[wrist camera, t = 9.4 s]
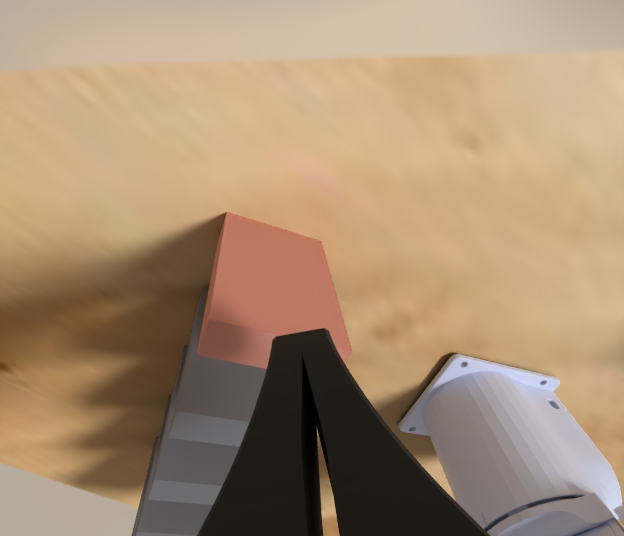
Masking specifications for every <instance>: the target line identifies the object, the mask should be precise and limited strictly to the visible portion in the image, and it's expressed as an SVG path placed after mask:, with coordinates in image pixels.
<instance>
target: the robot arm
mask: <svg viewBox="0 0 624 536" xmlns="http://www.w3.org/2000/svg"><path fill="white" fill-rule="evenodd" d="M559 385H560V381H559V380H558V379H557V378H556V377H553V376H549V375H545V374H541V373H537V372H532V371H528V370H524V369H520V368H516V367H511V366H507V365H503V364H499V363H495V362H490V361H486V360H482V359H478V358H473V357H469V356H465V355H461V354H455V355H453V356H451V357H450V358H449V360H448V361H447V362H446V363H445V365H444V366H443V367H442V369H441V370H440V371H439V373H438V374H437V375H436V376H435V378H434V379H433V380H432V382H431V383H430V384H429V386H428V387H427V388H426V389H425V391H424V392H423V393H422V395H421V396H420V397H419V399H418V400H417V401H416V402H415V404H414V405H413V406H412V408H411V409H410V410H409V412H408V413H407V414H406V415H405V417H404V418H403V419H402V421H401V422H400V423H399V428H400V430H401V431H402V432H406V433H413V434H419V435H426V436H430V439H431V441H432V443H433V446H434V448H435V451H436V453H437V456H438V458H439V461H440V463H441V466H442V468H443V470H444V473H445V475H446V478H447V480H448V483H449V485H450V488H451V490H452V493H453V495H454V497H455V500H456V501H455V500H454V499H453V498H452V497H451V496H450V495H449V494H448V493H447V492H446V491H445V490H444V489H443V488H442V487H441V486H440V485H439V484H438V483H437V482H436V481H435V480H434V479H433V478H432V476H431V475H430V474H429V473H428V472H427V471H426V470H425V469H424V468H423V467H422V466H421V465H420V463H419V462H418V461H417V460H416V459H415V458H414V457H413V455H412V454H411V453H410V452H409V451H408V450H407V449H406V447H405V446H404V445H403V444H402V443H401V441H400V440H399V439H398V438H397V437H396V435H395V434H394V433H393V432H392V430H391V429H390V428H389V427H388V425H387V424H386V423H385V422H384V420H383V419H382V418H381V416H380V415H379V414H378V412H377V411H376V410H375V408H374V407H373V406H372V404H371V403H370V402H369V400H368V399H367V397H366V396H365V394H364V393H363V391H362V390H361V388H360V387H359V385H358V384H357V382H356V381H355V380H354V378H353V376H352V375H351V373H350V372H349V370H348V368H347V367H346V365H345V363H344V362H343V360H342V358H341V356H340V354H339V353H338V351H337V349H336V347H335V345H334V342H333V340H332V338H331V335H330V332H329V330H327V329H325V328H321V329H315V330H309V331H304V332H298V333H292V334H286V335H281V336H276V337H275V338H274V339H273V340H272V347H271V352H270V357H269V362H268V366H267V370H266V373H265V377H264V381H263V384H262V387H261V390H260V393H259V396H258V399H257V402H256V406H255V409H254V412H253V414H252V417H251V420H250V422H249V425H248V427H247V430H246V432H245V435H244V438H243V440H242V443H241V445H240V448H239V450H238V453H237V455H236V457H235V459H234V462H233V464H232V466H231V469H230V471H229V473H228V475H227V477H226V479H225V481H224V484H223V486H222V488H221V490H220V492H219V494H218V496H217V498H216V500H215V502H214V504H213V506H212V508H211V510H210V512H209V514H208V515H207V517H206V519H205V521H204V523H203V525H202V527H201V529H200V531H199V533H198V535H197V536H323V527H322V515H321V497H320V480H319V462H318V444H317V429H318V433H319V437H320V442H321V446H322V450H323V454H324V458H325V462H326V466H327V470H328V475H329V479H330V483H331V487H332V491H333V495H334V501H335V508H336V514H337V521H338V528H339V534H340V536H624V529H623V527H622V526H621V525H620V523H619V522H618V519H620V520H621V522H622V523H623V524H624V505H622V497H621V491H620V486H619V483H618V480H617V478H616V475H615V473H614V471H613V469H612V467H611V465H610V464H609V462H608V461H607V460H606V458H605V457H604V456H603V455H602V453H601V452H600V451H599V449H598V448H597V447H596V446H595V444H594V443H593V442H592V441H591V439H590V438H589V437H588V435H587V434H586V433H585V432H584V430H583V429H582V428H581V427H580V425H579V424H578V423H577V422H576V420H575V419H574V418H573V416H572V415H571V414H570V413H569V411H568V410H567V409H566V408H565V406H564V405H563V404H562V402H561V401H560V400H559V399H558V397H557V396H556V395H555V394H554V392H553V391H554V390H555V389H556V388H557V387H558V386H559ZM316 425H317V427H316Z"/></svg>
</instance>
